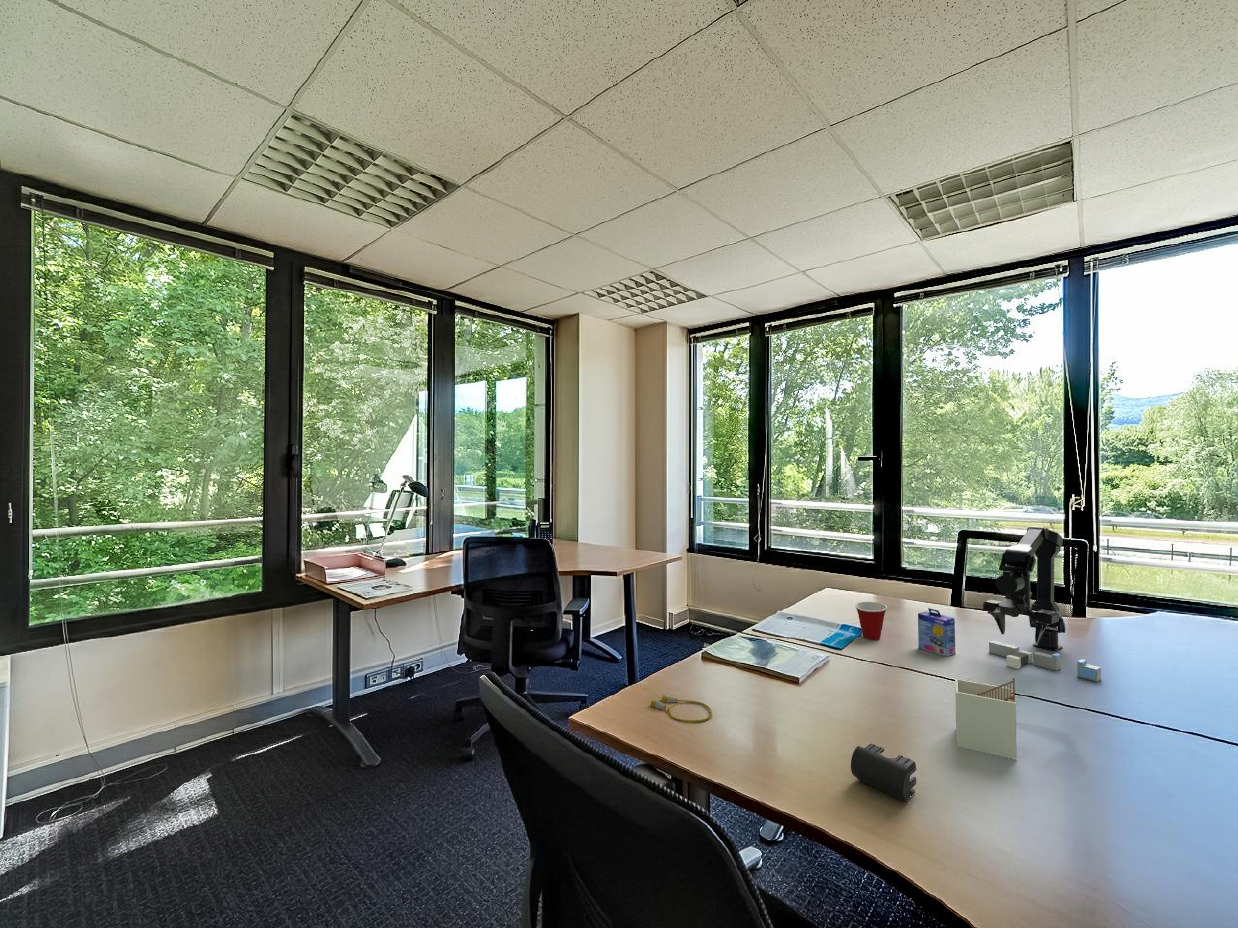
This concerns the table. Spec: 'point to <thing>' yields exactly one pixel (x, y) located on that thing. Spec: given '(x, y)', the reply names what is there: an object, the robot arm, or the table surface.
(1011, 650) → the grey block row
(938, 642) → the ink cartridge box
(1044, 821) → the table surface
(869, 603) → the plastic cup
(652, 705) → the extension cord
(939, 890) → the table surface
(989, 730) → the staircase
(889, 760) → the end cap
